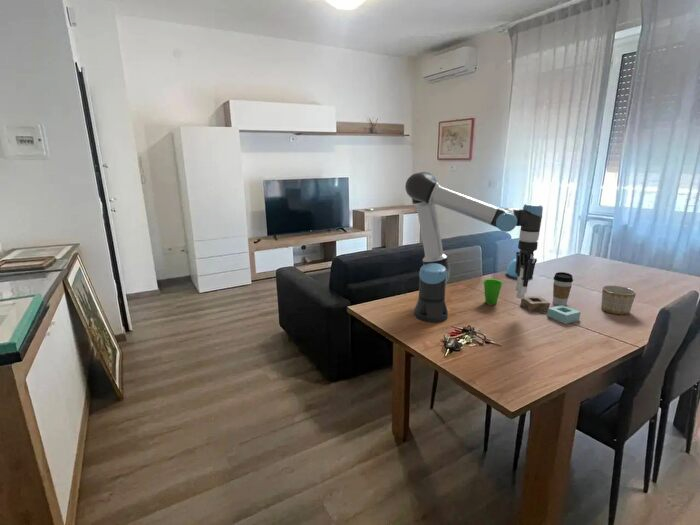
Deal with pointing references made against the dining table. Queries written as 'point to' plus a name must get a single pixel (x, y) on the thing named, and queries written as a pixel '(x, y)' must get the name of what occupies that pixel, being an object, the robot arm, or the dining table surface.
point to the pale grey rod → (520, 295)
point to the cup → (492, 290)
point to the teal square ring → (563, 314)
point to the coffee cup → (561, 288)
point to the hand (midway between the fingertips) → (521, 291)
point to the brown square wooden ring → (535, 303)
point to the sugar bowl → (512, 269)
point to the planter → (617, 299)
